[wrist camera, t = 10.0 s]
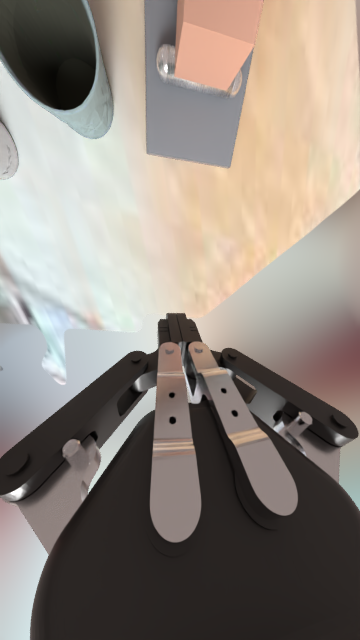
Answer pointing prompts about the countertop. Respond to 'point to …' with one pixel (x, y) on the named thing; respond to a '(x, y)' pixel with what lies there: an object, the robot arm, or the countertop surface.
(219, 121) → the grey piece
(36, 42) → the grey pot
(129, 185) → the countertop surface
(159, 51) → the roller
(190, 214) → the countertop surface
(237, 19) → the terracotta block
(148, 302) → the countertop surface
